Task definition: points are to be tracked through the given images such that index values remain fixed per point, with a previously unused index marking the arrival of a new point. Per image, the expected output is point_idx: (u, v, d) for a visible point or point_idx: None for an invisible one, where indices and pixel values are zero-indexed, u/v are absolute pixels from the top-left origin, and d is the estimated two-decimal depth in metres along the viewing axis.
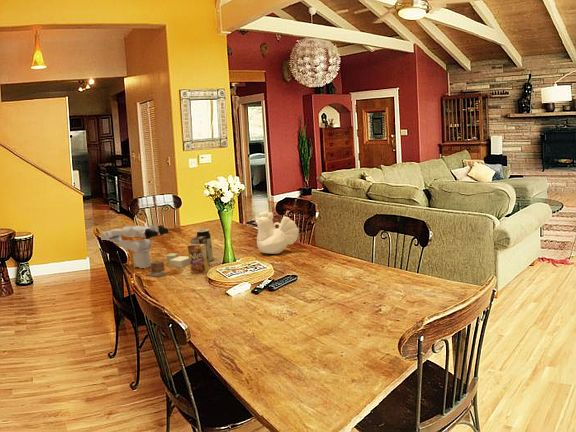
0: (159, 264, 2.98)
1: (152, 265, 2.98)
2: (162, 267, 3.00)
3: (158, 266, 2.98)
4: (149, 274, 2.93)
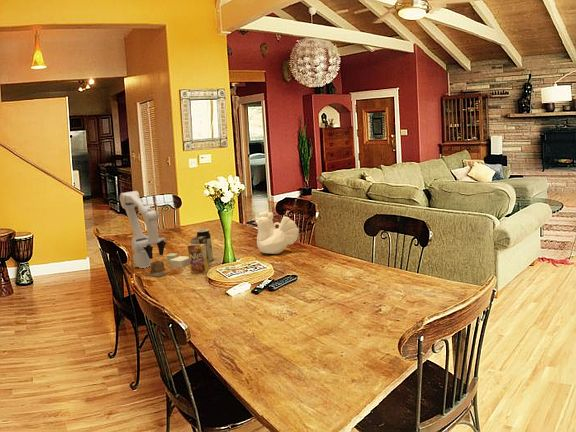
0: (159, 264, 2.98)
1: (152, 265, 2.98)
2: (162, 267, 3.00)
3: (158, 266, 2.98)
4: (149, 274, 2.93)
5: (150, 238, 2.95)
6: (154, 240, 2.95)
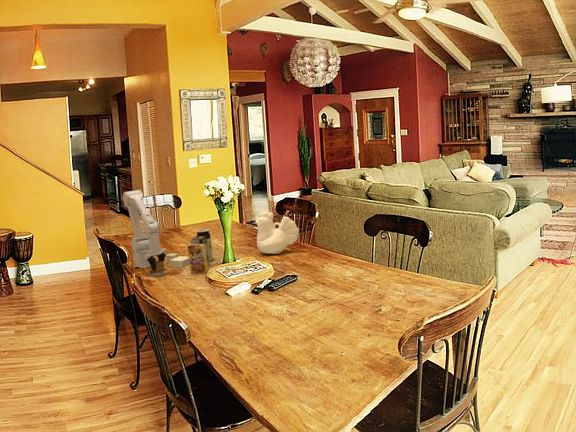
0: (159, 264, 2.98)
1: None
2: (162, 267, 3.00)
3: (158, 265, 2.98)
4: (149, 274, 2.93)
5: (152, 250, 2.96)
6: (156, 252, 2.96)
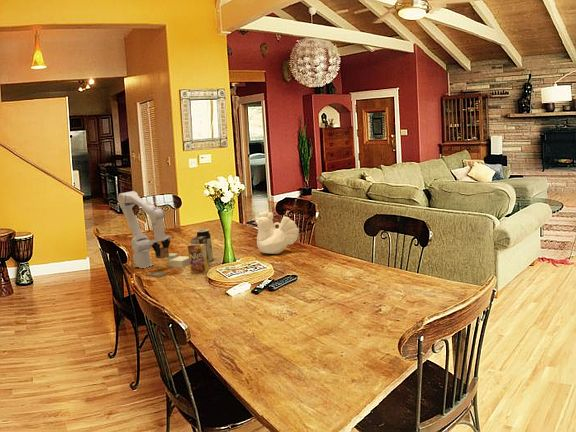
0: (164, 250, 2.99)
1: None
2: (166, 253, 3.01)
3: (163, 252, 2.99)
4: (149, 274, 2.93)
5: (156, 236, 2.97)
6: (160, 238, 2.97)
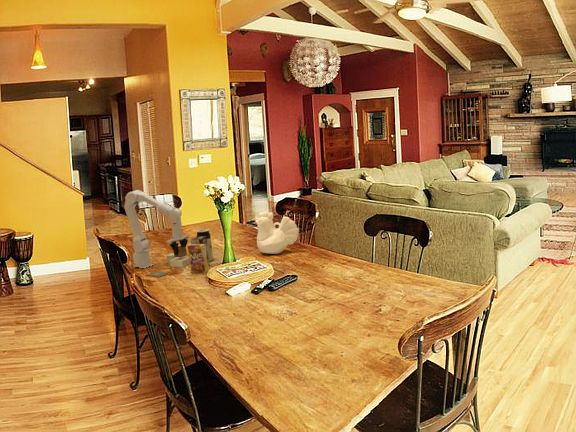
0: (182, 249, 3.06)
1: None
2: (184, 252, 3.08)
3: (181, 251, 3.06)
4: (149, 274, 2.93)
5: (174, 235, 3.04)
6: (178, 237, 3.04)
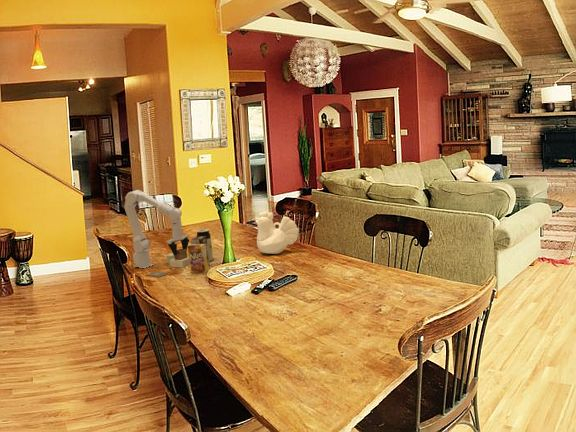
0: (182, 251, 3.06)
1: None
2: (185, 255, 3.08)
3: (181, 253, 3.06)
4: (149, 274, 2.93)
5: (174, 235, 3.04)
6: (178, 237, 3.04)
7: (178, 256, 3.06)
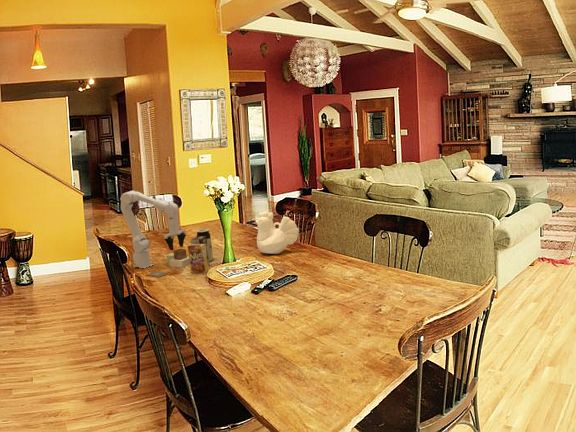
0: (182, 251, 3.07)
1: (175, 253, 3.07)
2: (184, 255, 3.08)
3: (181, 253, 3.06)
4: (149, 274, 2.93)
5: (171, 230, 3.03)
6: (175, 232, 3.03)
7: (178, 256, 3.06)
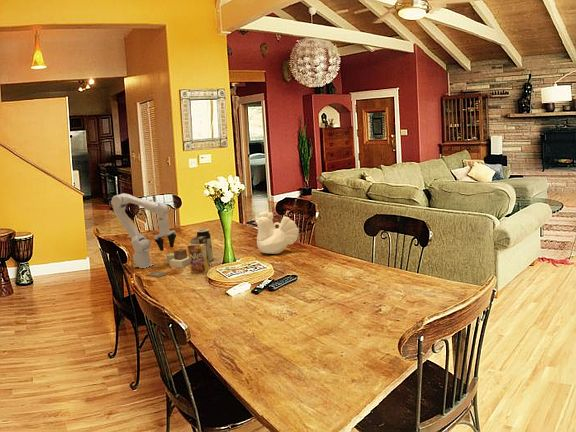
0: (182, 251, 3.06)
1: (175, 253, 3.07)
2: (185, 255, 3.08)
3: (182, 253, 3.06)
4: (149, 274, 2.93)
5: (161, 231, 3.03)
6: (165, 233, 3.04)
7: (178, 256, 3.06)
